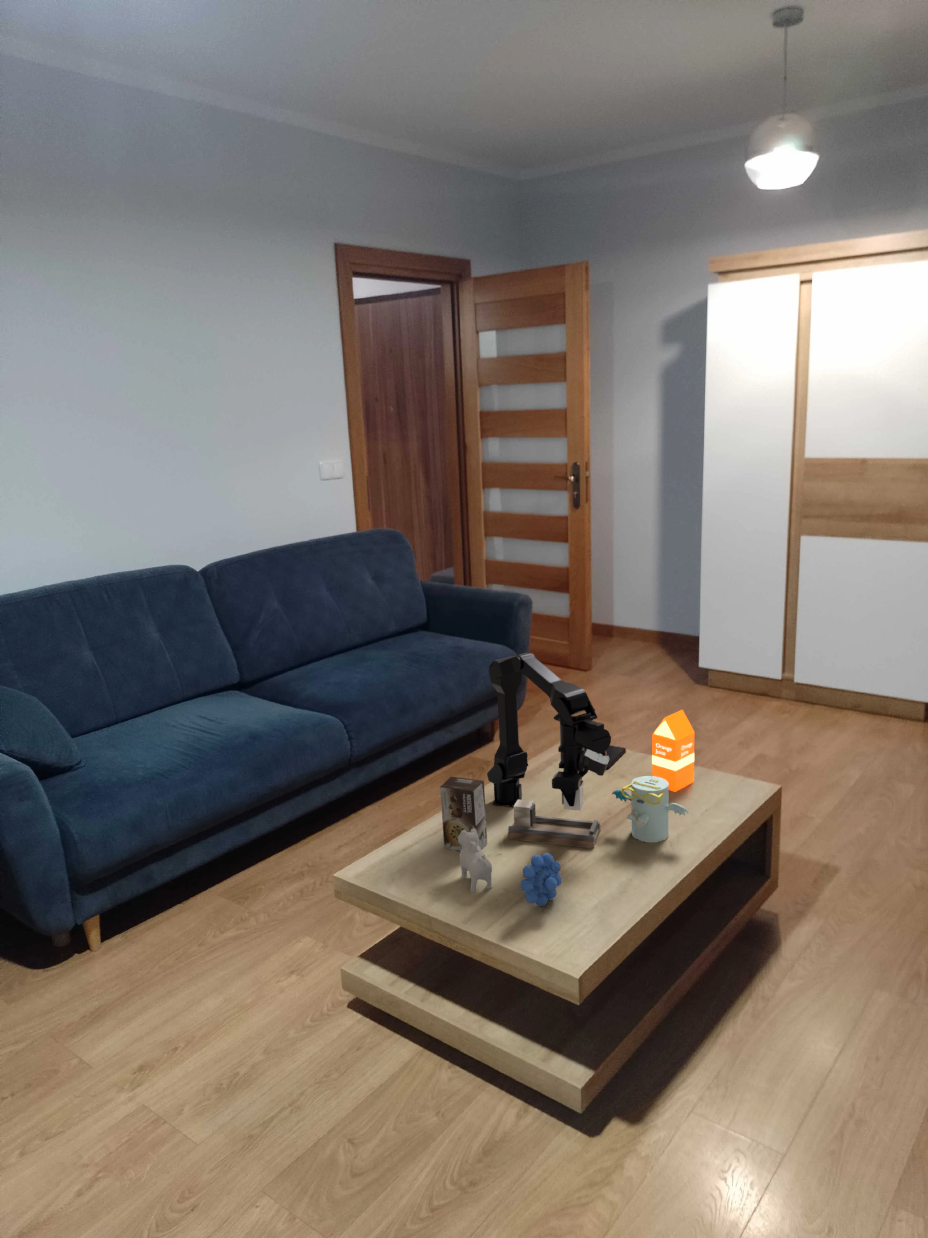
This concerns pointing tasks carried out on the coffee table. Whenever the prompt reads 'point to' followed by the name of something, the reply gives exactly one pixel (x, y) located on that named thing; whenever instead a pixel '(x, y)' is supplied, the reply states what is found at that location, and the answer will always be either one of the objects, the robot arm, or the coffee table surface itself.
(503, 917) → the coffee table surface
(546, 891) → the grapes
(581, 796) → the off-white square prism
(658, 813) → the character sculpture
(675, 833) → the coffee table surface
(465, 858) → the dog figurine
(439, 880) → the coffee table surface
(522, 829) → the rail
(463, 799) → the coffee box
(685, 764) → the orange juice
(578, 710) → the robot arm
